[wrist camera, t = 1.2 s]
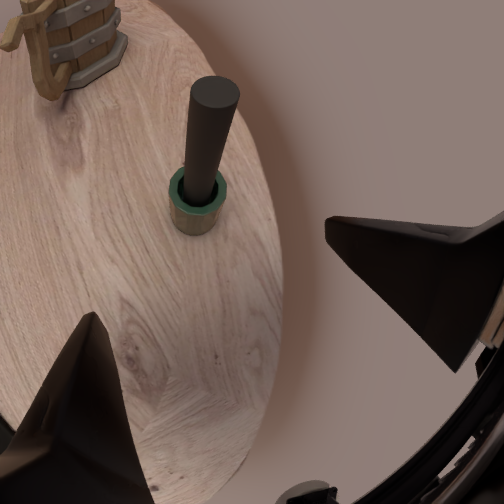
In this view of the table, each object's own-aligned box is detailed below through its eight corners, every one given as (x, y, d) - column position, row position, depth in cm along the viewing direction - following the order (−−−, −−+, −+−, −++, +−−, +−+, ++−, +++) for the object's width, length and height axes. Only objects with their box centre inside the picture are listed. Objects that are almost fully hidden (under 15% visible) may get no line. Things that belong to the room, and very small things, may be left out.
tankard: (58, 43, 23) (43, -31, 9) (133, 31, 26) (135, -54, 12) (5, 147, 19) (-53, 63, 5) (96, 133, 22) (61, 10, 8)
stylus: (205, 223, 23) (239, 110, 10) (181, 221, 22) (187, 105, 9) (207, 201, 23) (241, 78, 10) (183, 199, 23) (194, 73, 10)
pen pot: (216, 236, 23) (225, 217, 18) (169, 234, 22) (166, 213, 18) (218, 193, 24) (227, 165, 19) (173, 190, 23) (172, 161, 18)
